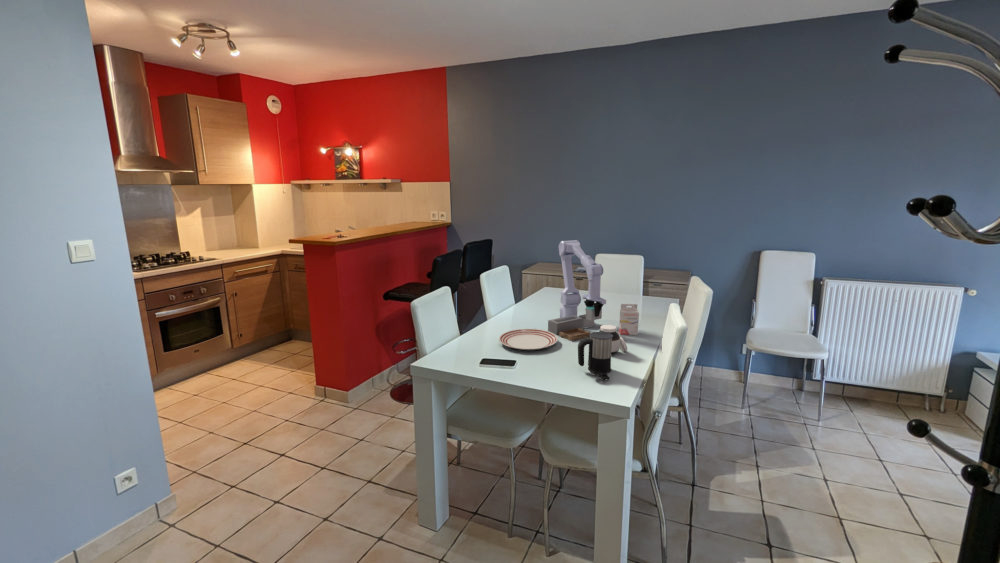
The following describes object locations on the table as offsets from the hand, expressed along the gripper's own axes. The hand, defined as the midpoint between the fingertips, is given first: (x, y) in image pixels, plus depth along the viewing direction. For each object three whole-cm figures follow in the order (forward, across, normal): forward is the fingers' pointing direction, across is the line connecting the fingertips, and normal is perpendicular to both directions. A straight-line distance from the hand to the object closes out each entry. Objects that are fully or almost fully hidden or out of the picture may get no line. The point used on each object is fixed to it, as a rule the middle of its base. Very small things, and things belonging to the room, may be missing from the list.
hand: (593, 315), depth 236 cm
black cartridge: (+9, -10, +5) cm, 14 cm away
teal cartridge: (+2, 0, 0) cm, 2 cm away
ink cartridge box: (+9, +11, +13) cm, 20 cm away
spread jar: (+9, +25, -13) cm, 30 cm away
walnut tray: (+9, -1, -12) cm, 15 cm away
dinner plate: (+9, -5, -37) cm, 38 cm away
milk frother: (+9, +40, -35) cm, 54 cm away
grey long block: (+9, -10, -9) cm, 17 cm away
